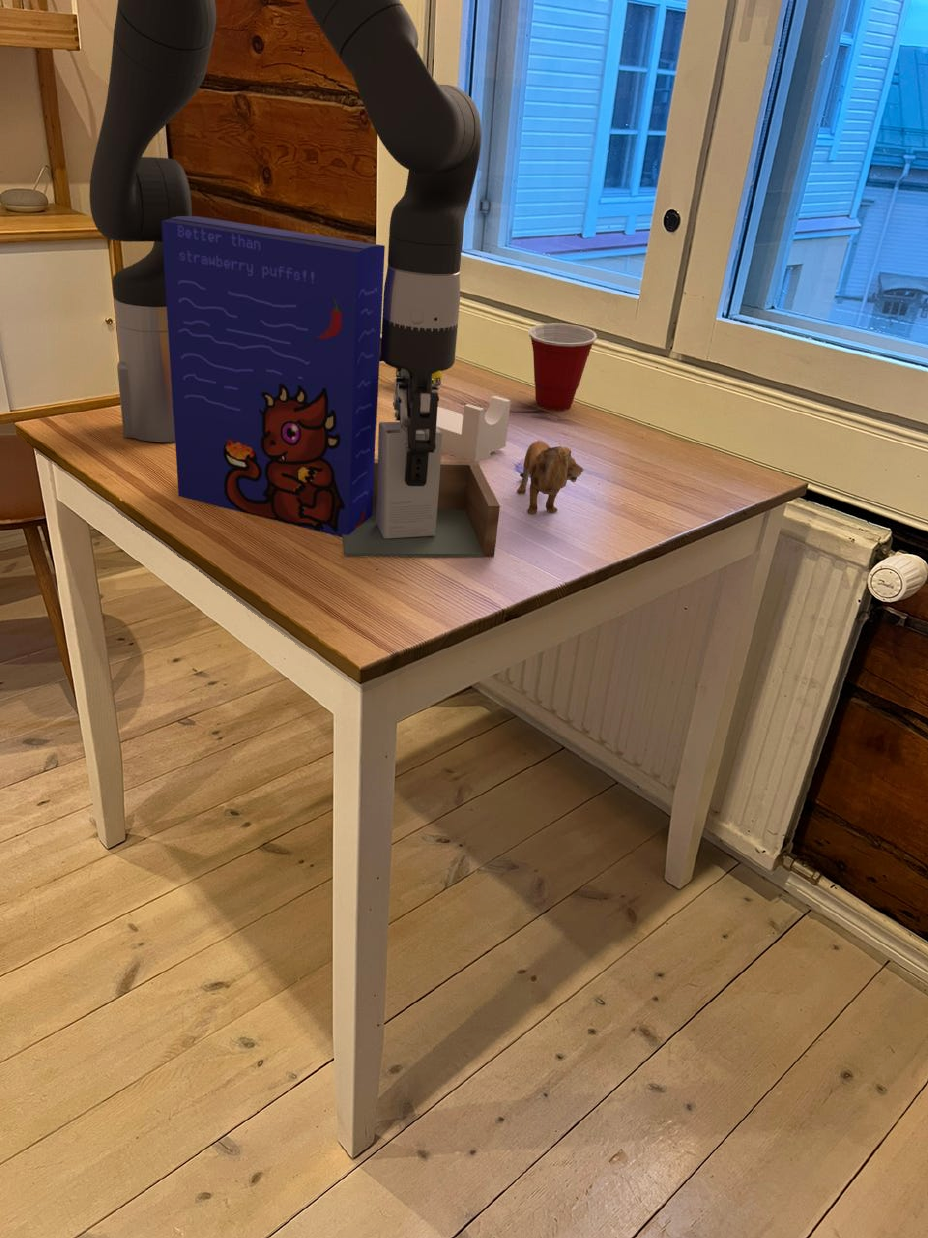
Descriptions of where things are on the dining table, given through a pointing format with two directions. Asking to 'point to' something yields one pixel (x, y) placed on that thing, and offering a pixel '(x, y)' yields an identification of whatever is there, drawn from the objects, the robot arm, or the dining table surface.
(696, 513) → the dining table surface
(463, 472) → the corner walls
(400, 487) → the skincare box
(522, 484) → the lion figurine
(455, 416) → the bracket
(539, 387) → the plastic cup
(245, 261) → the cereal box
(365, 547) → the felt mat
